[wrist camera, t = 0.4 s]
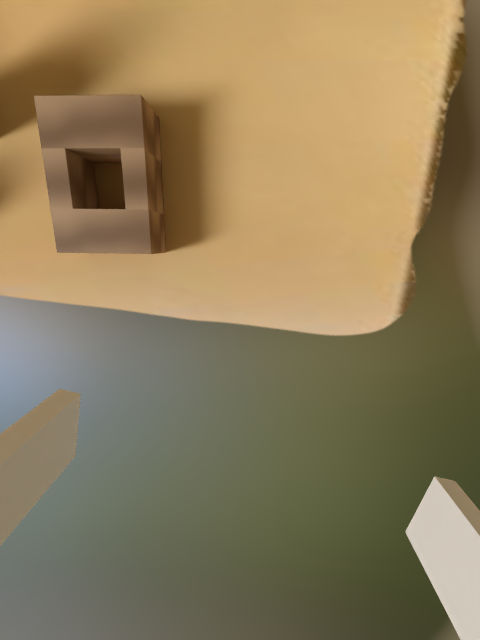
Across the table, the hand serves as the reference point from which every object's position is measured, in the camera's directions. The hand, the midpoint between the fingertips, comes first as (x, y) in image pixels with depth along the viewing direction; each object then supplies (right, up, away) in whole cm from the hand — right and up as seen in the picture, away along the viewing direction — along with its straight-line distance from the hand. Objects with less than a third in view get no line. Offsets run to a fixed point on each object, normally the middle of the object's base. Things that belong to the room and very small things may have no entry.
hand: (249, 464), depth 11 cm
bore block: (-14, +20, +22) cm, 33 cm away
